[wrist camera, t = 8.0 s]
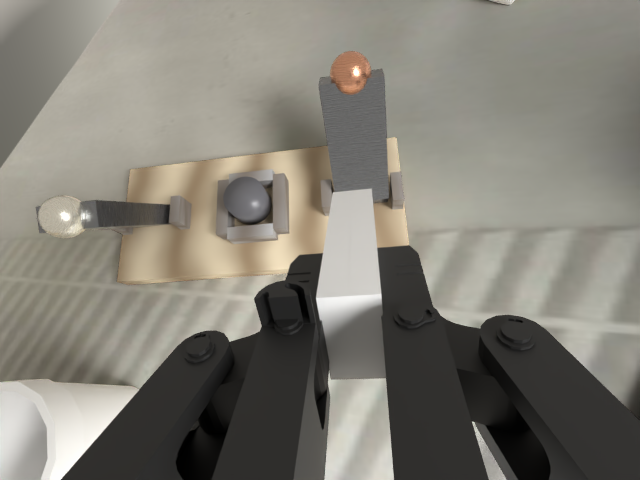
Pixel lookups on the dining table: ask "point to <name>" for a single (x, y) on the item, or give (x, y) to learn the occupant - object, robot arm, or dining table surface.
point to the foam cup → (52, 424)
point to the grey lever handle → (96, 215)
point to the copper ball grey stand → (356, 125)
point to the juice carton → (504, 1)
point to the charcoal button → (247, 200)
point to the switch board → (227, 231)
